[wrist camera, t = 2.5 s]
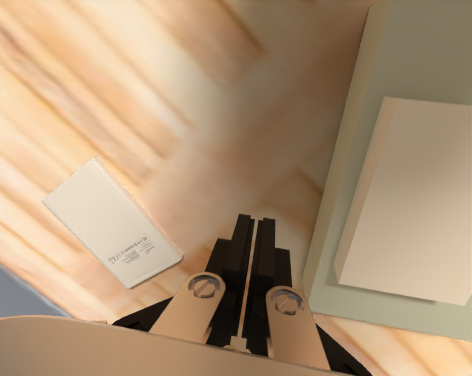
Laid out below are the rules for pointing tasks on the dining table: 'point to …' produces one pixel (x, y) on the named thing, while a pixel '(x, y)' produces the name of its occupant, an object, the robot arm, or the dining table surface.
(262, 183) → the dining table surface
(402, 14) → the sage green block
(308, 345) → the robot arm
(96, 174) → the external hard drive
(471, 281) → the cream flat block
